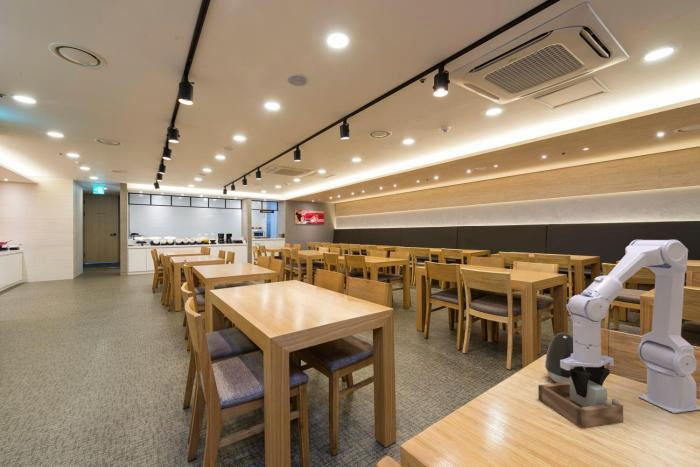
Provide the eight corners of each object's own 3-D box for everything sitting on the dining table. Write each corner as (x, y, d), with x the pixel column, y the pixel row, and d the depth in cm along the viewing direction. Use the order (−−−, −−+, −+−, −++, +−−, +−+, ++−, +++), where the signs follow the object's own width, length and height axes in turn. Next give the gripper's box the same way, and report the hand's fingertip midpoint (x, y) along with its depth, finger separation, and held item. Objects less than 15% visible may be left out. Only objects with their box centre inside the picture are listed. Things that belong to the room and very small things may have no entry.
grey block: (582, 397, 81) (582, 375, 81) (609, 412, 74) (609, 388, 74) (569, 399, 80) (569, 376, 80) (595, 414, 73) (595, 389, 73)
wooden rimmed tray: (575, 395, 83) (574, 377, 83) (623, 422, 71) (623, 401, 71) (538, 399, 81) (538, 381, 81) (582, 428, 69) (581, 407, 69)
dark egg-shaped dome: (595, 388, 87) (594, 336, 88) (568, 393, 85) (567, 340, 85) (562, 373, 97) (562, 326, 97) (537, 377, 94) (536, 329, 95)
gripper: (594, 335, 82) (595, 384, 82) (549, 338, 80) (550, 389, 79) (622, 344, 75) (622, 398, 75) (574, 348, 73) (575, 404, 72)
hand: (587, 394), depth 77 cm, fingers closed on grey block, 3 cm apart
